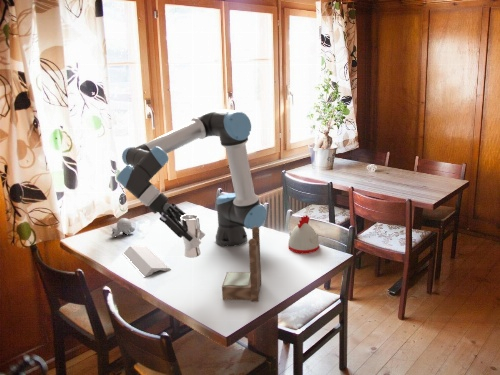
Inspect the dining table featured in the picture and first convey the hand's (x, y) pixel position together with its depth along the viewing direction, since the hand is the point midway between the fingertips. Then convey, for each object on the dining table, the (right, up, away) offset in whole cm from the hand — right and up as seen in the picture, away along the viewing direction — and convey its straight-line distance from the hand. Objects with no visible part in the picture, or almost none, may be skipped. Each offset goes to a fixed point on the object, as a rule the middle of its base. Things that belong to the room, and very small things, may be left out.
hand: (200, 240), depth 175 cm
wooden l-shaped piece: (+16, -20, +3) cm, 25 cm away
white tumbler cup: (-3, -5, +2) cm, 7 cm away
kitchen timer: (+43, -8, +41) cm, 60 cm away
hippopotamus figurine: (-47, -5, +65) cm, 80 cm away
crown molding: (-28, -14, +33) cm, 45 cm away
